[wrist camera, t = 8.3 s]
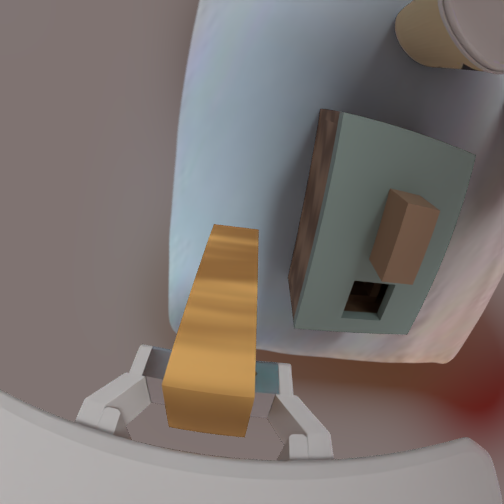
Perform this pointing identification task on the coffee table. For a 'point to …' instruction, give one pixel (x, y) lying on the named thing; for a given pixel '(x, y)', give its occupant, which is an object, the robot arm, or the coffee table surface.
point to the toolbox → (362, 293)
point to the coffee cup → (454, 33)
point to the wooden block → (217, 339)
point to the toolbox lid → (381, 225)
